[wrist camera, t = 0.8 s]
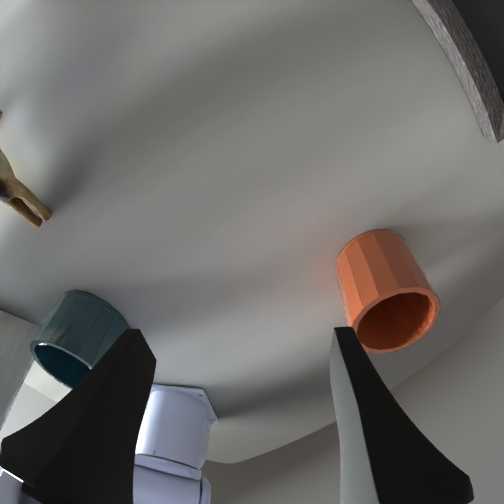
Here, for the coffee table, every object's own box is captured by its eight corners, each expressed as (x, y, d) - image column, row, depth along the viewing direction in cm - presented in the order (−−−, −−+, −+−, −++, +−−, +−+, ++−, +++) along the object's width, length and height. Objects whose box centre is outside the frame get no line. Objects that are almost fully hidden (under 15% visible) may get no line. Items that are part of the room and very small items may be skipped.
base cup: (144, 352, 27) (126, 404, 22) (81, 345, 28) (60, 388, 23) (111, 291, 22) (81, 347, 17) (45, 289, 23) (14, 334, 18)
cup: (401, 290, 20) (423, 347, 16) (332, 295, 21) (344, 357, 16) (416, 228, 17) (452, 282, 13) (338, 230, 18) (358, 291, 13)
